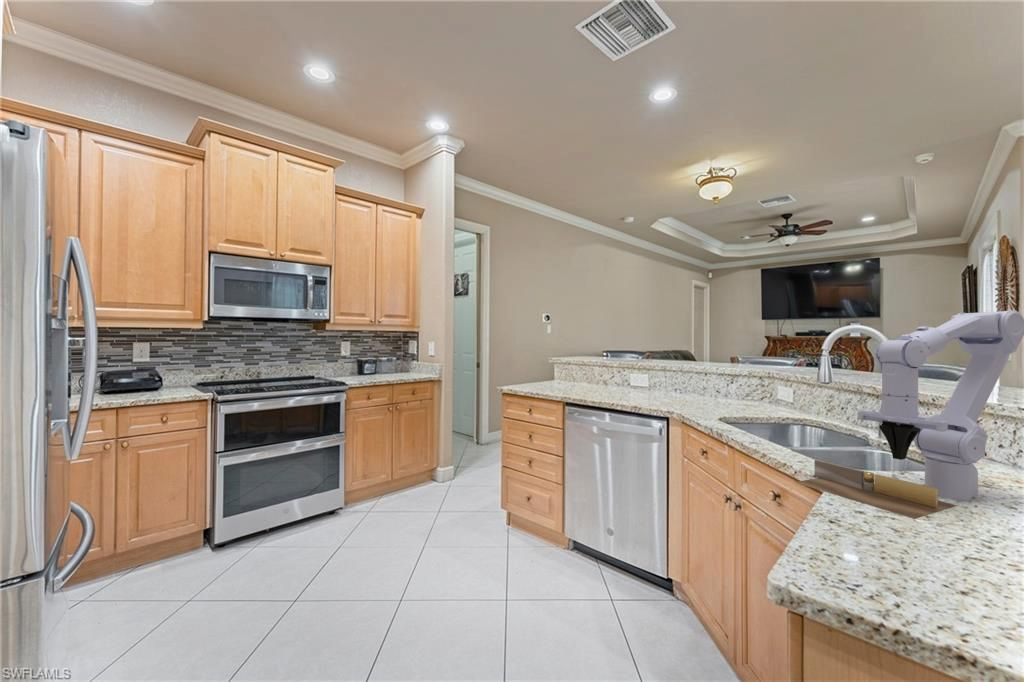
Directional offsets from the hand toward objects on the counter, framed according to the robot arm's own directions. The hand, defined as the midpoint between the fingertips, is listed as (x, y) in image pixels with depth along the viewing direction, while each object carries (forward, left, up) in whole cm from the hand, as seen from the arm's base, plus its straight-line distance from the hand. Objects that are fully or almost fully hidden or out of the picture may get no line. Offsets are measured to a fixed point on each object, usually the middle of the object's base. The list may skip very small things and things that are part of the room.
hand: (899, 458), depth 89 cm
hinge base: (+3, -5, -9) cm, 11 cm away
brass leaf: (+1, 0, -8) cm, 8 cm away
